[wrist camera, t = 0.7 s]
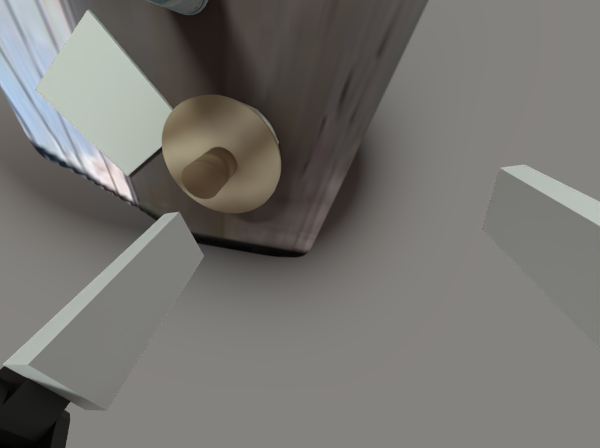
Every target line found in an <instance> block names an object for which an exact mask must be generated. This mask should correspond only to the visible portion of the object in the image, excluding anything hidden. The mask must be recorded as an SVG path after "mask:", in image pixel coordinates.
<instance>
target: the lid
mask: <svg viewBox="0 0 600 448" xmlns="http://www.w3.org/2000/svg"><path fill="white" fill-rule="evenodd" d="M162 151H163V156H164V159H165V162H166V165H167V167H168V169H169V172H170V173H171V175H172V177H173V178H174V180H175V181H176V182H177V184H178V185H179V186H180V187H181V188H182V190H183V191H184V192H185V193H187V194H188V195H189V196H190V197H191V198H193V199H194V200H195V201H197V202H198V203H200V204H202V205H204V206H206V207H208V208H210V209H213V210H216V211H219V212H224V213H244V212H248V211H251V210H254V209H256V208H258V207H260V206H261V205H263V204H264V203H265V202H266V201H267V200H268V199H269V198H270V197H271V195H272V194H273V192H274V191H275V189H276V186H277V184H278V181H279V178H280V174H281V155H280V150H279V147H278V143H277V141H276V139H275V137H274V135H273V133H272V131H271V129H270V128H269V126H268V125H267V124H266V122H265V121H264V120H263V119H262V118H261V117H260V116H259V115H258V114H257V113H256V112H255V111H254V110H252V109H251V108H250V107H248V106H247V105H245V104H244V103H242V102H240V101H238V100H235V99H233V98H230V97H227V96H222V95H209V94H208V95H201V96H196V97H193V98H190V99H187V100H185V101H184V102H182V103H180V104H179V105H178V106H176V107H175V108H174V109H173V111H172V112H171V113H170V114H169V116H168V118H167V119H166V122H165V125H164V128H163V132H162Z"/></svg>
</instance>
